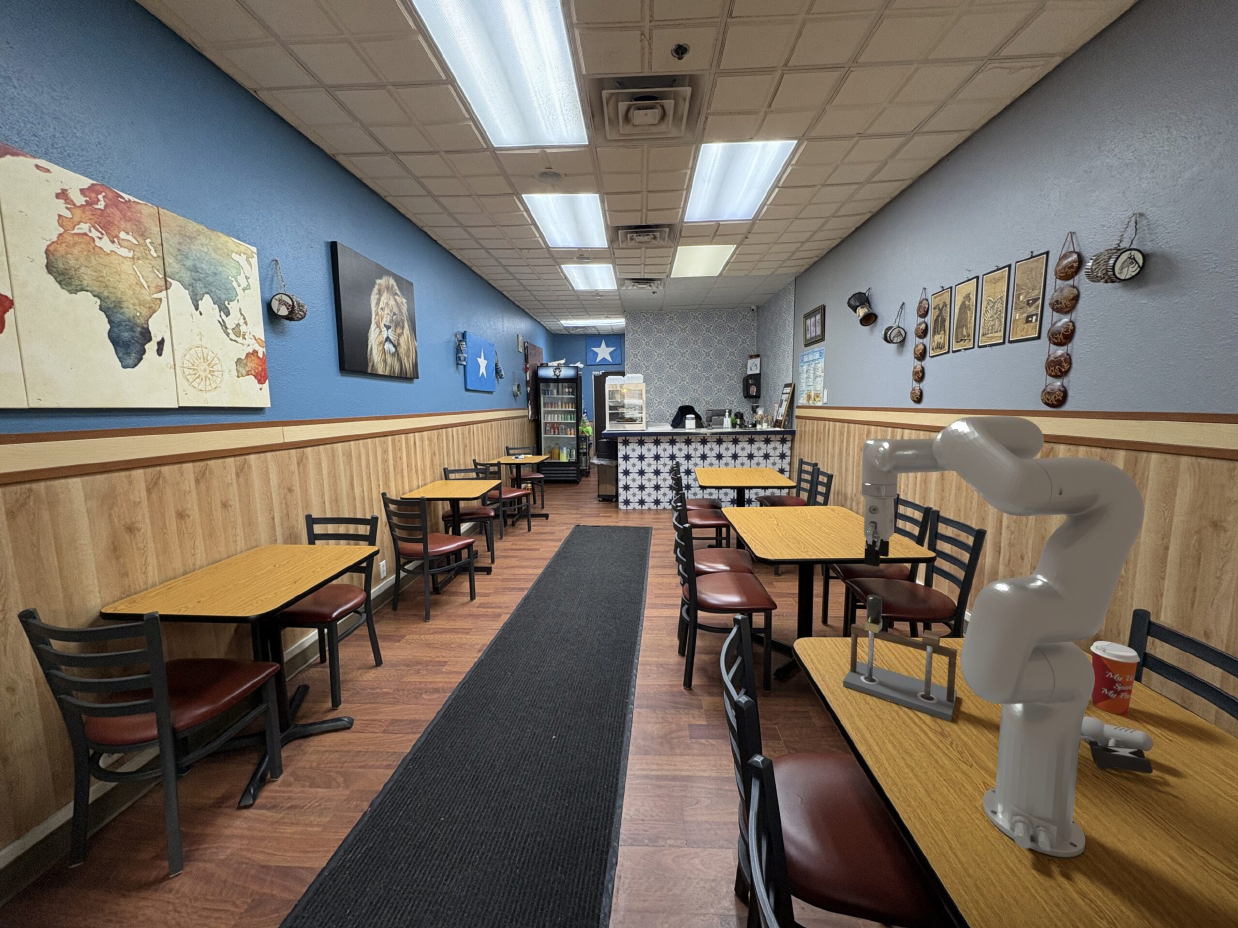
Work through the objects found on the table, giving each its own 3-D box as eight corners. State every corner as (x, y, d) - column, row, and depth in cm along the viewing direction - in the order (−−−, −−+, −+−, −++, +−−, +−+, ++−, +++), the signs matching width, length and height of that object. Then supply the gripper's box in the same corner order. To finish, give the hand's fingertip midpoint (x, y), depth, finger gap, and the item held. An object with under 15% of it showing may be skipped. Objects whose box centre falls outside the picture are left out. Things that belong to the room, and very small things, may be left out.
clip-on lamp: (1025, 753, 99) (1154, 785, 84) (1018, 722, 99) (1146, 750, 85) (1037, 723, 106) (1158, 749, 92) (1030, 695, 106) (1150, 716, 92)
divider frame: (952, 706, 107) (956, 644, 105) (847, 674, 121) (849, 618, 119) (954, 697, 110) (958, 637, 109) (852, 666, 124) (854, 613, 123)
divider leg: (876, 681, 116) (879, 601, 114) (862, 676, 119) (865, 598, 116) (880, 673, 120) (883, 596, 118) (866, 669, 122) (869, 593, 120)
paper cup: (1111, 718, 104) (1116, 657, 103) (1076, 697, 112) (1081, 640, 110) (1145, 717, 104) (1151, 655, 103) (1108, 696, 112) (1114, 639, 111)
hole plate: (950, 721, 104) (951, 714, 104) (843, 685, 118) (843, 679, 118) (956, 696, 113) (957, 689, 113) (855, 665, 127) (856, 660, 127)
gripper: (889, 496, 105) (886, 572, 107) (903, 487, 119) (901, 554, 120) (852, 493, 110) (850, 566, 112) (870, 485, 123) (868, 550, 125)
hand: (876, 560), depth 116 cm, fingers open, 9 cm apart
